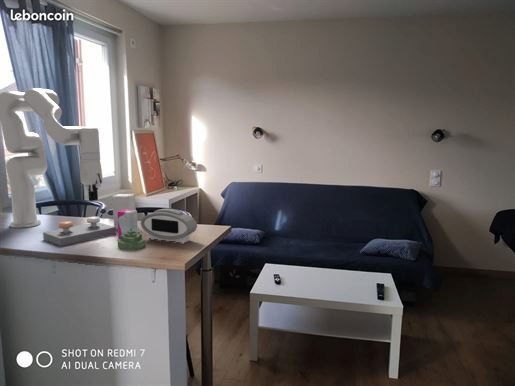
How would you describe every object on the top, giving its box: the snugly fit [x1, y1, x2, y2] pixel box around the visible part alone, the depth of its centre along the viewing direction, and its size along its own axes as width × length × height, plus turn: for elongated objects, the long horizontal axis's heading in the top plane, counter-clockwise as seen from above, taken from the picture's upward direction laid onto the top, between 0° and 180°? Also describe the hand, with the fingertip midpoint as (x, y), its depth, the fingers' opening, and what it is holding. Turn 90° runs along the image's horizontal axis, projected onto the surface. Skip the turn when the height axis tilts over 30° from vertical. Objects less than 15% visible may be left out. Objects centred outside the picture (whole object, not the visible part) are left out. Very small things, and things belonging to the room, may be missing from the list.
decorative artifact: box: [117, 229, 146, 251], centre depth 160 cm, size 10×7×10 cm
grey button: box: [86, 216, 101, 229], centre depth 176 cm, size 5×5×5 cm
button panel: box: [42, 222, 117, 247], centre depth 172 cm, size 14×24×3 cm, turn 142°
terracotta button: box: [58, 220, 74, 234], centre depth 167 cm, size 5×5×5 cm
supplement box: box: [117, 210, 139, 240], centre depth 171 cm, size 6×6×12 cm
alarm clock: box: [140, 208, 198, 244], centre depth 169 cm, size 23×6×13 cm, turn 68°
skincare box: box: [111, 193, 136, 231], centre depth 185 cm, size 8×7×16 cm
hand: (93, 200), depth 174 cm, fingers closed
